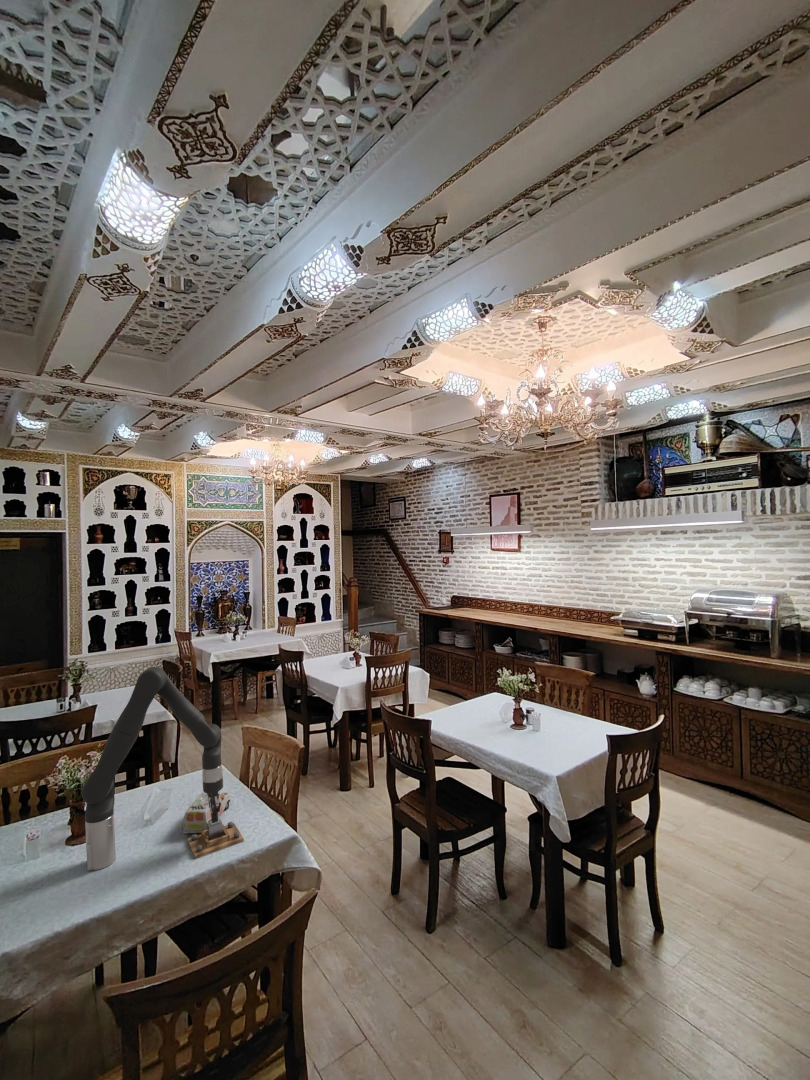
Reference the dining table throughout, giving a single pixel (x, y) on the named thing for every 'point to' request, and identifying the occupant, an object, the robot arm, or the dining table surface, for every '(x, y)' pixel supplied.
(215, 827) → the block
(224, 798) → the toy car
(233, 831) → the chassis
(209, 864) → the dining table surface
